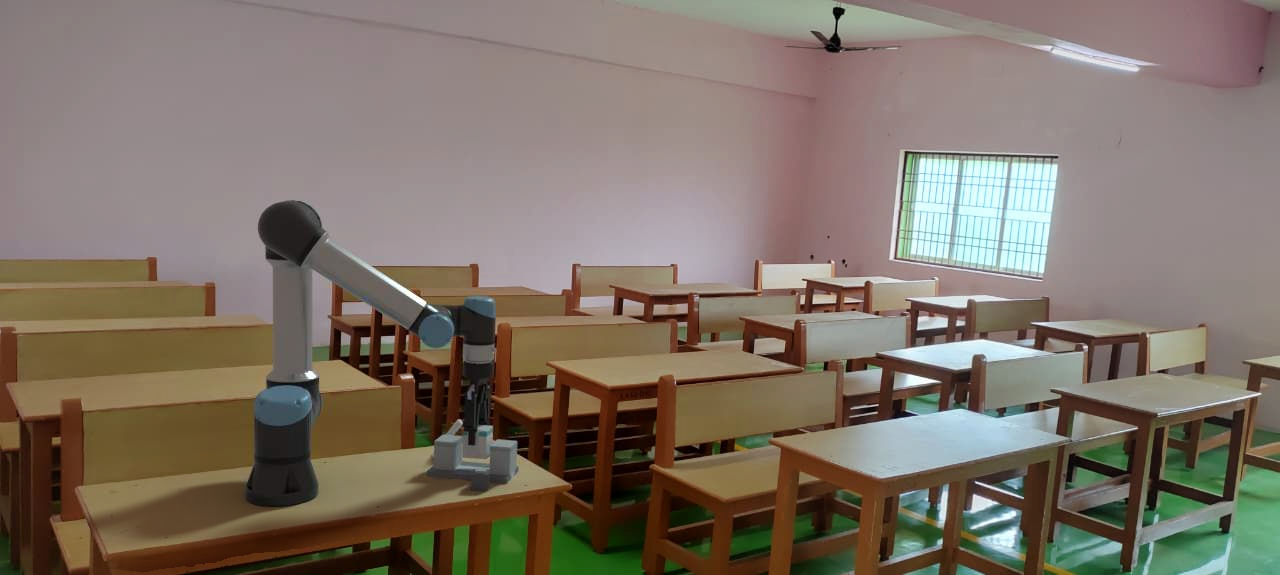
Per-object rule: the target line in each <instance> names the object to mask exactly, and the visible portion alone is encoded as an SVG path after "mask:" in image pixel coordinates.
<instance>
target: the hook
mask: <svg viewBox="0 0 1280 575" xmlns="http://www.w3.org/2000/svg"><path fill="white" fill-rule="evenodd" d="M463 425H464V422H463V421H462V420H461V419H460V418H459V419H456V421H455V423H453V425H452V426H451V427H450V428H449V430H448V431H447V432H446V433H445V435H456V433H457V432H458V431H459V429H461V427H462V426H463ZM431 454H432V455H431V457H432V459H434V451H433V452H432V453H431Z"/></svg>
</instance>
